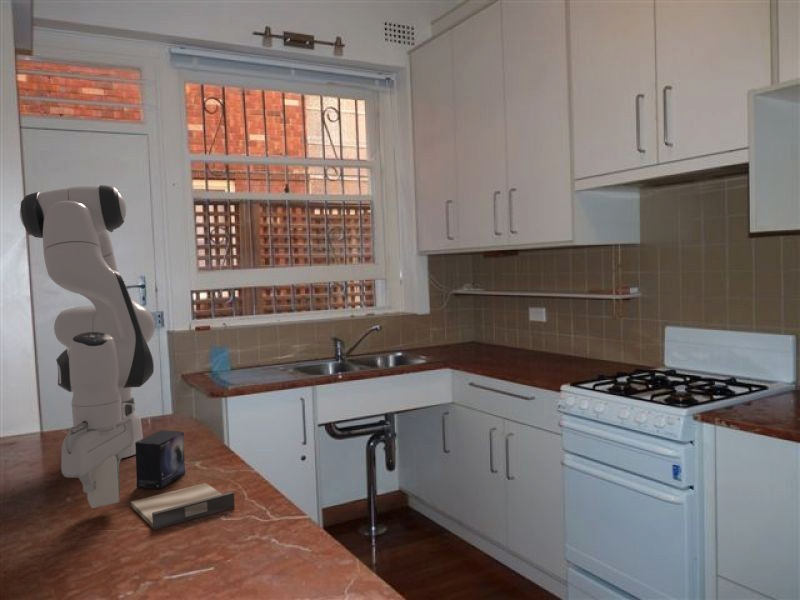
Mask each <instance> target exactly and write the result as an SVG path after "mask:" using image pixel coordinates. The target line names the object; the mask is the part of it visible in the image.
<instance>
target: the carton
mask: <svg viewBox="0 0 800 600" xmlns="http://www.w3.org/2000/svg"><path fill="white" fill-rule="evenodd" d="M92 472H93V474H92V475H91V477H92V480H93V481H96V489H95V490H94V491H93V492H91V493H86V495H87V501H88V504H89V506H90V508H91V509H95V508H100V507H104V506H109V505H113V504H116V503H120V495H119V493H120V478H119V477H120V476H119V474H118V463H117V458H116V457H115V455H112V456H110V457H109V458H107V459H105V460H104V463H103V464H101V465H100V466H98V467H96V468H95V469H93V470H92Z"/></svg>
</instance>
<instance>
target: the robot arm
mask: <svg viewBox="0 0 800 600" xmlns="http://www.w3.org/2000/svg"><path fill="white" fill-rule="evenodd" d="M126 216H127V206H126V202H125V199H124V197H123V196H122V194H121V193H120V190H118V189H117V188H116V187H114V186H112V185H104V184H102V185H99V186H94V185H93V186H87V185H86V186H70V187H68V188H67V187H65V188H59V189H53V190H49V191H44V192H43V191H42V192H41V191H37V192H33V193H30V194H27V195H25V196H24V197H23V199H22V200H21V202H20V208H19V218H20V221H21V223H22V225H23V227H24V228H25V230H26V232H27V233H28V234H29V235H31V236H32V237H34V238H39V239H42V248H43V257H44V264H45V269H46V271H47V275H48V277H49V278H50V279H51V280H52V281H53V282H54V283H55V284H56V285H57V286H58V287H61V288H62V289H64V290H67V292H68V291H69V292H72V293H74V294H77V295H81V296H83V297H85V298H86V299H88V301H89V302H90V303H92V305H80V306H76V307H70V308H66V309H63V310H62V311H61V312H60V313H59V314H57V316H56V318H55V321H54V324H53V325H54V326H53V329H54V330H53V331H54V335H55V337H56V339H57V340H58V342H59V343H60V344H62V345H64V347H66V349H65V350H64V351H62V352H61V353H60V354H59V356H58V357H56V360H55V361H56V364H57V374H58V375H57V386H59V387H60V388H62V389H63V390H65V391H67V392H68V393H72V398H71V415H72V416H71V417H72V427H71V428H69V430H68V432H67V434H66V436H64V439H63V442H62V446H61V459H60V460H61V467H60V468H61V474H62V475H63V477H65V478H73V479H74V478H78V479H79V481H80V483H81V484H82V490H83V493H84V494H87V493H91V492H93V491H94V490H95V489H96V481H93V480H92V477H91V475H92V474H93V472H92V470H93V469H95V468H96V467H98V466H100V465H101V464H103V463H104V460H105V459H107V458H109V457H110V456H112V455H115V457H116V458H117V463H118V475H119V473H120V468H119V467H120V463H121V460H122V459H124V458H128V457H131V456H134V455H136V449H135V442H137V441H139V440H141V439H144V435H143V428H142V427H143V426H142V421H141V420H142V419H141V417H139V415H137V414H136V413H135V410H136V408H135V405H136V404H135V400H134V399H135V398H134V397H133V393H132V388H140V387H142V386H143V385H145V384H146V383H147V382H148V380H150V378H152V376H153V374H154V372H155V371H154V369H155V365H154V358H153V354H152V352H151V350H150V347H149V345H148V344H149V342H150V341H151V340H152V338H153V336H154V334H155V330H156V321H155V318H154V316H153V314H152V313H151V311H150V310H148V309H147V308H146V307H143V305H141V304H140V303H138V302H137V300H135V299H134V298H133V297H132V296H131V295H130V293H129V290H128V287H127V285H126V283H125V280H124V279H123V277H122V276H121V274H120V272H119V271H118V267H117V264H116V263H117V261H116V258H115V254H114V248H113V245H112V242H111V238H110V234H109V233H113V232H114V230H117V229H118V228H121V226H122V225H123V224H124V223H125V219H126Z"/></svg>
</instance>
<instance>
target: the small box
mask: <svg viewBox="0 0 800 600" xmlns="http://www.w3.org/2000/svg"><path fill="white" fill-rule="evenodd" d="M184 433H185V432H184V431H178V430H177V431H175V430H164V429H160V430H159V431H156V432H154V433H152V434H151V435H148V436H146V437H143V439H141V440H139V441H137V442H135V449H136V454H135V471H136V474H135V475H136V488H139V489H141V488H142V489H154V490H162V489H163V488H165V487H166V486H168V485H169V484H172V483H173V482H175V481H176V480H177V479H179V478H181V477H182V476H184V475H186V464H185V435H184Z"/></svg>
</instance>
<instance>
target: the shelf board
mask: <svg viewBox="0 0 800 600" xmlns="http://www.w3.org/2000/svg"><path fill="white" fill-rule="evenodd" d="M130 507H131V508H132V510H134V511H135V512H136V513H137V514H138V515H139V516H140V517H141V518H142V519H143V520H144V521H145V522H146V523H147V524H148V525H149V526H150V527H151V528H152V530H159V529H162V528H166V527H169V526H173V525H177V524H181V523H184V522H188V521H191V520H194V518H195V519H198V518H201V517H205V516H208V515H211V514H216V513H219V511H220V512H223V511H227V510H230V509H234V508H235V492H233V491H229V492H225V493H221V492H220V491H218V490H217V489H216V488H214V487H213V486H211V485H210V484H208V483H207V482H204V483H200V484H196V485H192V486H189V487H184V488H180V489H179V488H178V489H177V490H172V491H167V492H164V493H160V494H156V495H152V496H148V497H144V498H140V499H135V500H132V501H130ZM187 520H188V521H187Z"/></svg>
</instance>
